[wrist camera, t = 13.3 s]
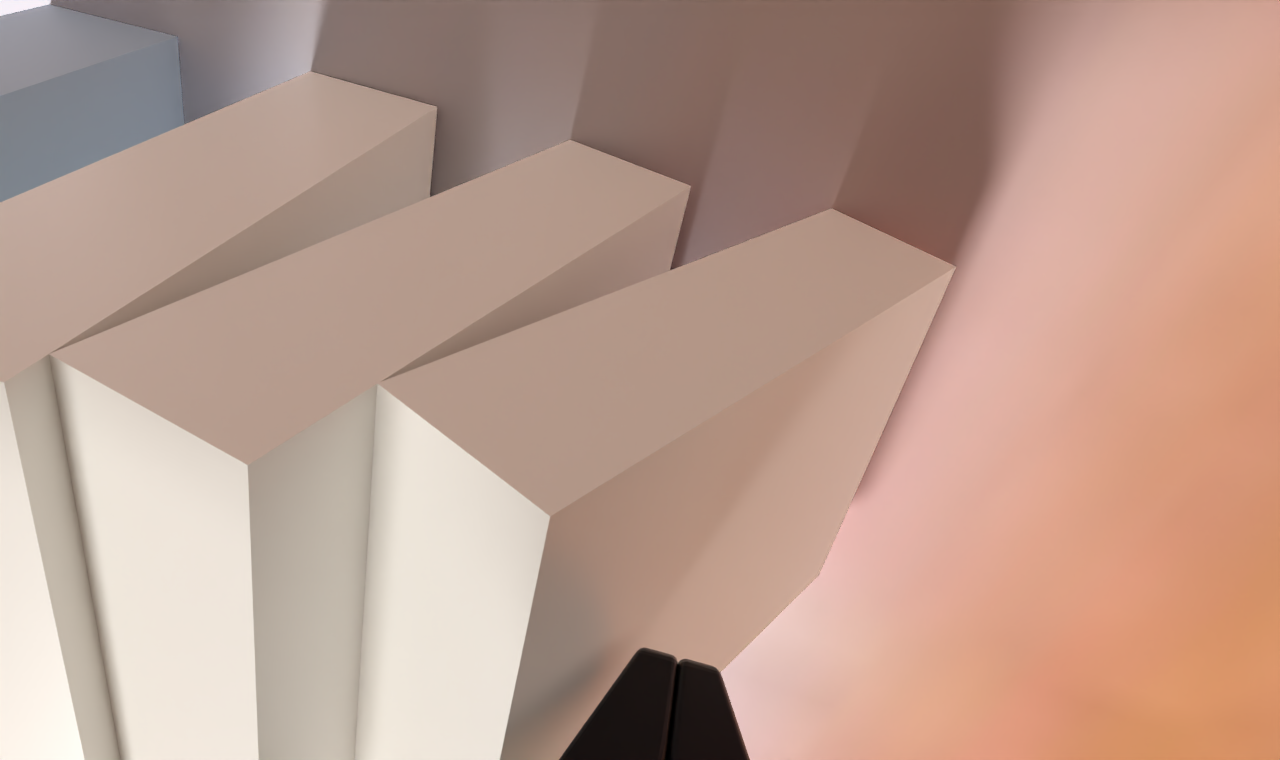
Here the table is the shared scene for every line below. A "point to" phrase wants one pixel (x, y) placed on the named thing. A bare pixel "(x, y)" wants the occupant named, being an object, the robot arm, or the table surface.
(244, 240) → the tile
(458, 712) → the tile
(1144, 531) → the table surface
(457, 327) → the tile
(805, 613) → the table surface
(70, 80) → the tile
